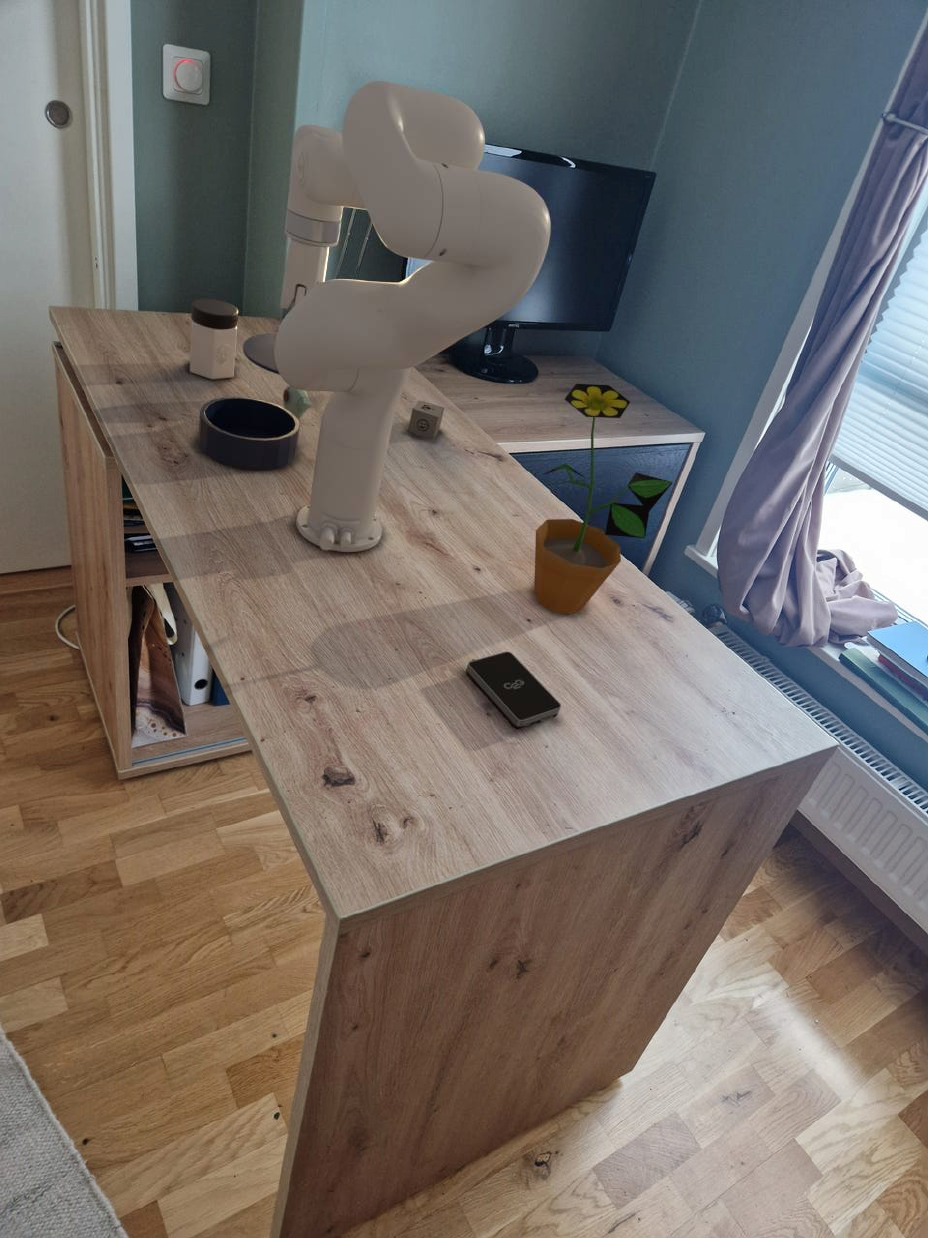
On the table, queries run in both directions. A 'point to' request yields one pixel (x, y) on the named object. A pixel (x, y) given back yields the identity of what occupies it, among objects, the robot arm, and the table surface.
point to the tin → (248, 433)
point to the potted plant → (576, 550)
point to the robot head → (296, 401)
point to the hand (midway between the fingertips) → (297, 352)
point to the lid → (261, 351)
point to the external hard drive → (513, 690)
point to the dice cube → (426, 419)
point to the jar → (213, 338)
